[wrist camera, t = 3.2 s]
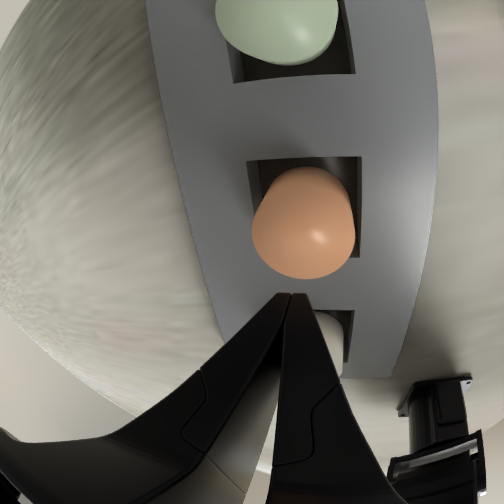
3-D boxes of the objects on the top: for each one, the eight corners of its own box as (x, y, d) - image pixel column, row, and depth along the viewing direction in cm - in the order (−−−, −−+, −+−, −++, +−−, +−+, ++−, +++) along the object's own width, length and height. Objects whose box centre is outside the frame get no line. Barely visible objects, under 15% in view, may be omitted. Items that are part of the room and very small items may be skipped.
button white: (341, 353, 18) (339, 388, 16) (283, 351, 19) (275, 384, 17) (345, 311, 16) (345, 348, 14) (278, 309, 17) (269, 345, 15)
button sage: (341, 63, 9) (346, 56, 7) (245, 71, 10) (224, 68, 8) (326, -19, 7) (326, -44, 5) (232, -8, 8) (208, -27, 6)
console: (388, 356, 20) (390, 377, 18) (239, 351, 23) (233, 370, 21) (397, -43, 6) (406, -57, 5) (162, -14, 10) (142, -23, 8)
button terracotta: (349, 244, 14) (352, 279, 11) (270, 244, 15) (258, 278, 13) (349, 165, 12) (355, 186, 9) (260, 168, 13) (244, 189, 11)
